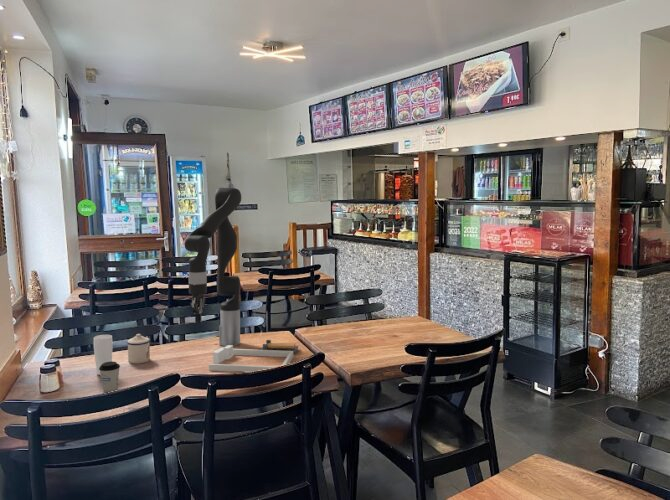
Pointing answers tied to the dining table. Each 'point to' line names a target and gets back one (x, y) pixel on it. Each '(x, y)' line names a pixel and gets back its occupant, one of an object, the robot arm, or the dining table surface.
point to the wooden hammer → (281, 345)
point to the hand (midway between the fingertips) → (198, 322)
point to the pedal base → (265, 347)
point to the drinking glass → (102, 350)
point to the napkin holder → (222, 354)
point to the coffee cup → (109, 376)
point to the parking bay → (252, 353)
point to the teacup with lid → (138, 349)
